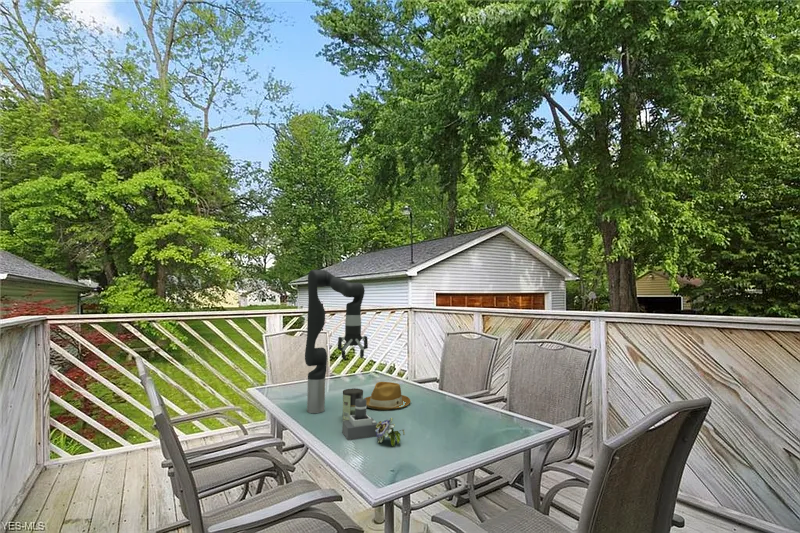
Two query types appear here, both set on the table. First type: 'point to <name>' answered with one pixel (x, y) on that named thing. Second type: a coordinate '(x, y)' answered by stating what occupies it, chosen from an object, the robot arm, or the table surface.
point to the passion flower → (387, 432)
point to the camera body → (359, 428)
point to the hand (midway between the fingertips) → (352, 358)
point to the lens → (360, 409)
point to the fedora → (386, 397)
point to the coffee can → (350, 401)
